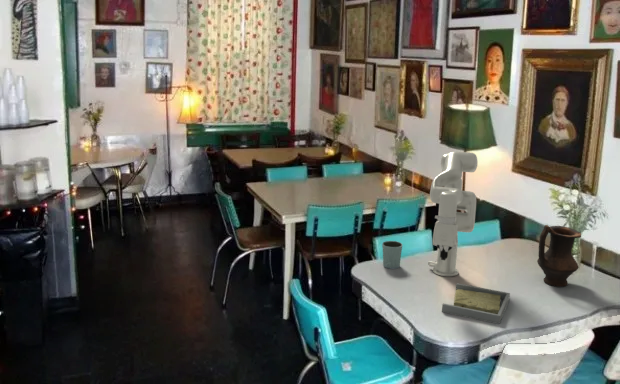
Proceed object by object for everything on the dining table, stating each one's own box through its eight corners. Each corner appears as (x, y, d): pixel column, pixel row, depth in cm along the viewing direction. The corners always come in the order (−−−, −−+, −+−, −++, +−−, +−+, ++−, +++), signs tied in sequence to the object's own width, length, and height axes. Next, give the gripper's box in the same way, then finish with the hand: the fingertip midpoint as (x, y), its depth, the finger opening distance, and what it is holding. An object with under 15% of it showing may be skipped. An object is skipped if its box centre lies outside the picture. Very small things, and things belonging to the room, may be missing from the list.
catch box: (441, 311, 264) (442, 304, 264) (456, 290, 288) (456, 283, 287) (499, 323, 254) (500, 316, 254) (509, 300, 278) (510, 293, 277)
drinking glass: (404, 265, 319) (405, 243, 316) (395, 271, 310) (397, 248, 308) (386, 261, 324) (387, 239, 321) (377, 266, 316) (379, 244, 313)
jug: (558, 274, 312) (565, 217, 305) (584, 287, 295) (593, 227, 288) (523, 278, 305) (529, 220, 298) (548, 292, 288) (555, 231, 281)
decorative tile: (455, 294, 284) (455, 287, 284) (500, 300, 279) (501, 293, 278) (451, 310, 267) (452, 303, 266) (499, 317, 261) (500, 310, 261)
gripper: (427, 219, 269) (424, 259, 273) (462, 224, 263) (458, 264, 267) (432, 215, 275) (429, 253, 280) (465, 220, 269) (462, 259, 274)
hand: (443, 259), depth 274 cm, fingers closed
